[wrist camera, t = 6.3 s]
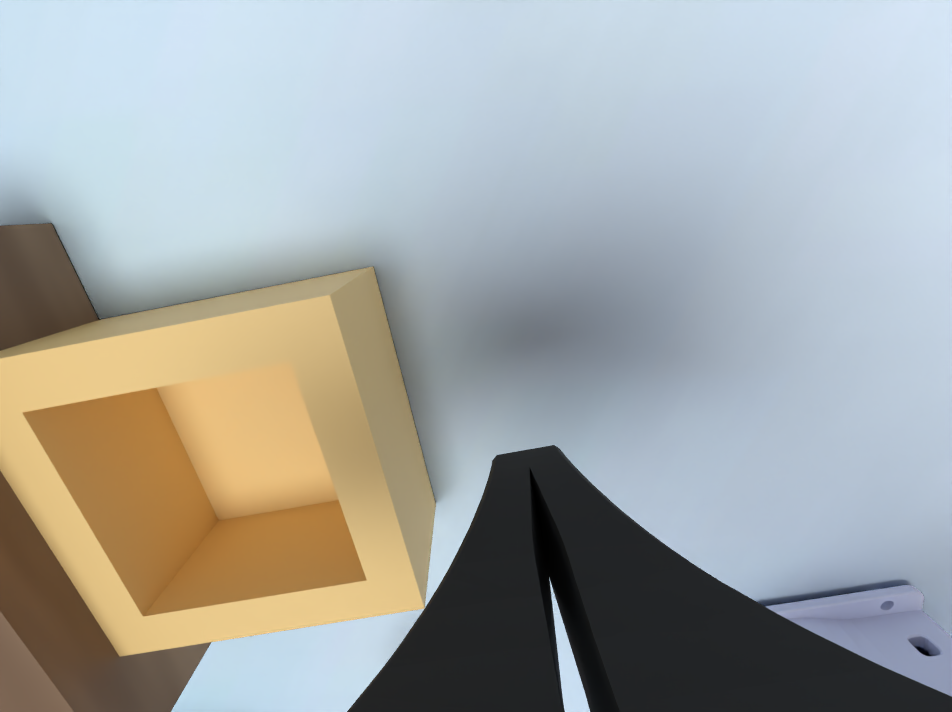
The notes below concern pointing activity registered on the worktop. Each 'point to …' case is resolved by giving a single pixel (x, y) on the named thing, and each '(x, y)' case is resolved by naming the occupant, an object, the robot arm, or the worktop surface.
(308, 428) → the socket block
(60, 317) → the walnut wall
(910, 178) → the worktop surface
